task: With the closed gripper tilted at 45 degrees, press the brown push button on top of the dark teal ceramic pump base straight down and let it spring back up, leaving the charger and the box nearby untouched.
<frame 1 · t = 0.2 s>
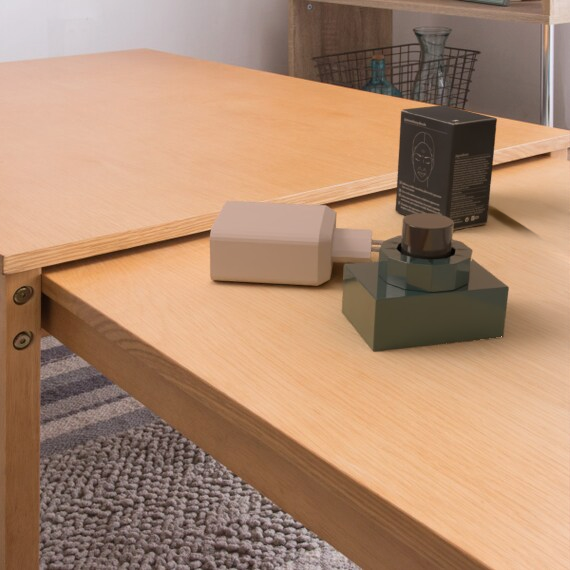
charger: (306, 271, 79), on the table
brown push button: (426, 237, 66), point 7 cm above the table, slide at 0.1 cm
box: (439, 220, 93), on the table
pump base: (420, 325, 69), on the table
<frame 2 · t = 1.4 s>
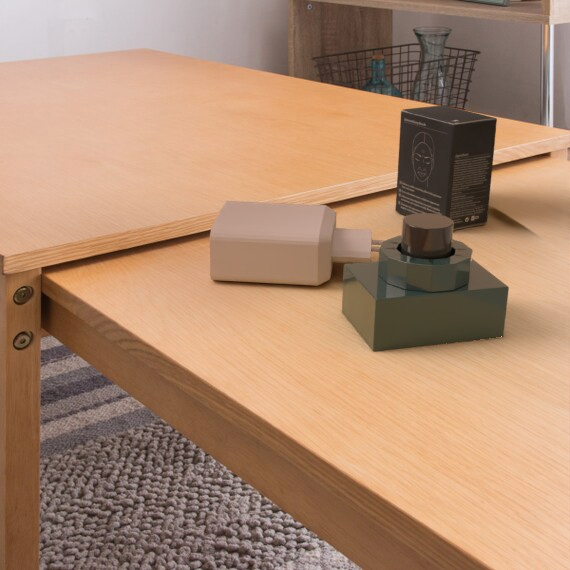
nothing on the table moved.
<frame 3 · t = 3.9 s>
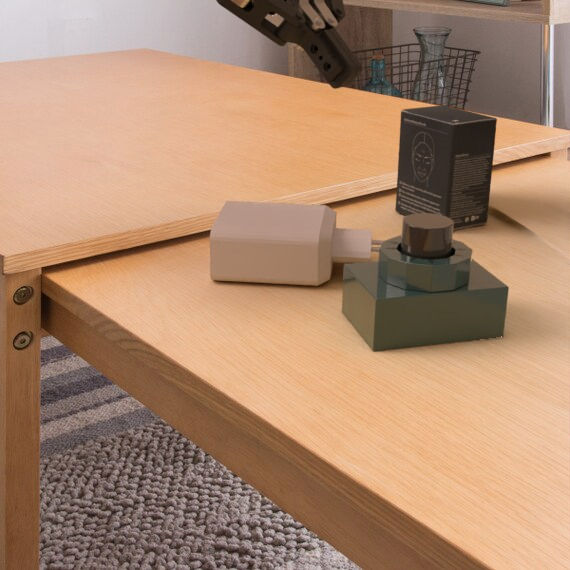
hand: (349, 80, 66), 17 cm above the table, tool tilted 45°, fingers closed
nothing on the table moved.
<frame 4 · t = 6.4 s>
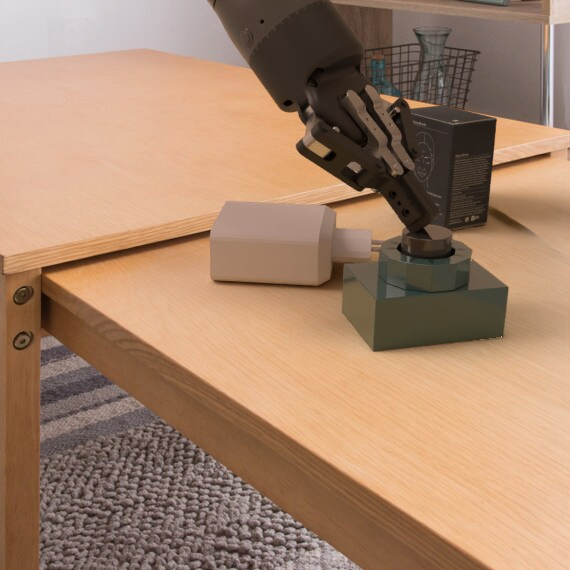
hand: (427, 224, 66), 8 cm above the table, tool tilted 45°, fingers closed
brown push button: (426, 248, 66), point 6 cm above the table, slide at -0.7 cm, touching gripper
everything else where it was.
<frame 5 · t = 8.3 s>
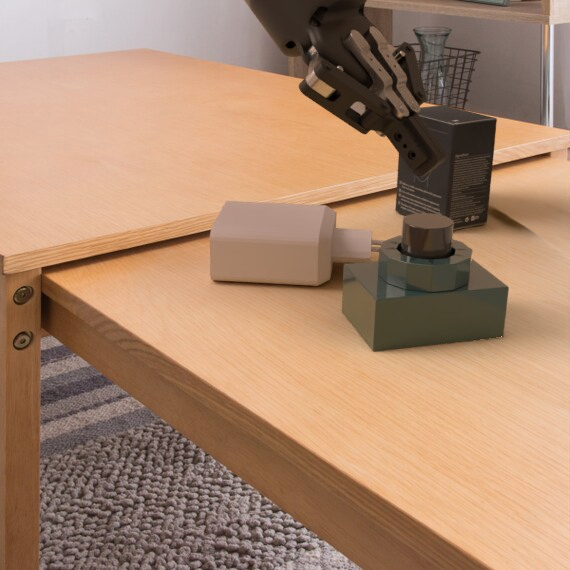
hand: (433, 167, 64), 12 cm above the table, tool tilted 45°, fingers closed
brown push button: (426, 237, 66), point 7 cm above the table, slide at 0.1 cm
everything else where it was.
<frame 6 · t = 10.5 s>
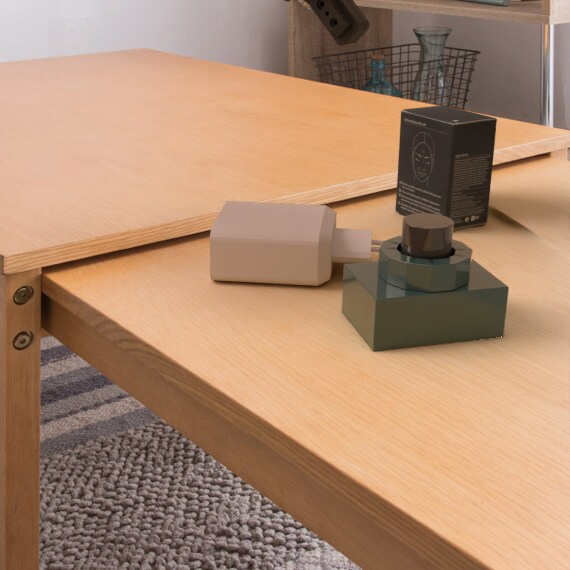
hand: (356, 37, 64), 20 cm above the table, tool tilted 45°, fingers closed
nothing on the table moved.
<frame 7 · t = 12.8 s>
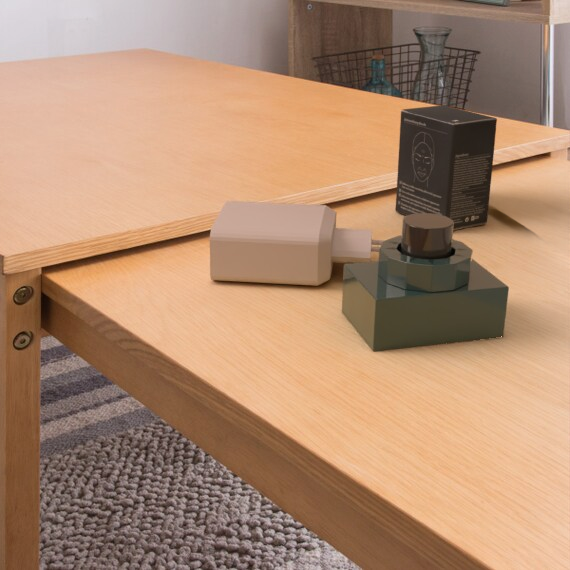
nothing on the table moved.
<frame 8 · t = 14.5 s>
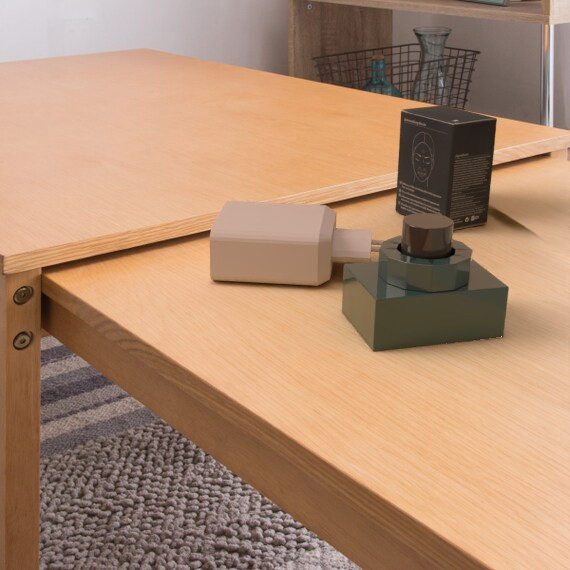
nothing on the table moved.
at the end: brown push button pushed in 1.5 cm at the most during the clip, back to where it started at the end; brown push button slide at 0.1 cm; box moved 0.2 cm from its start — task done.
